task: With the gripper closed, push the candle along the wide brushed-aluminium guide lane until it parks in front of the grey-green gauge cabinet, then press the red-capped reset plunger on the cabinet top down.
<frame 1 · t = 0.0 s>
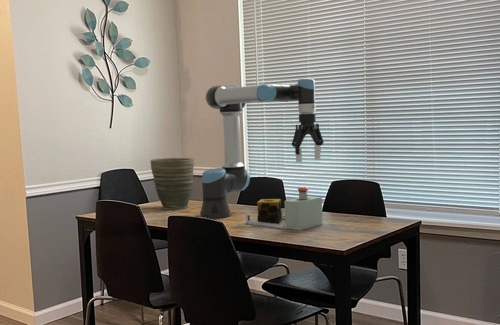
hand: (308, 160, 255), 28 cm above the table, fingers open, 13 cm apart
vase: (174, 208, 314), on the table
gauge cabinet: (304, 226, 248), on the table
rail track: (278, 222, 258), on the table
reset plunger: (303, 196, 247), point 13 cm above the table, slide at 0.0 cm
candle: (270, 222, 262), on the table
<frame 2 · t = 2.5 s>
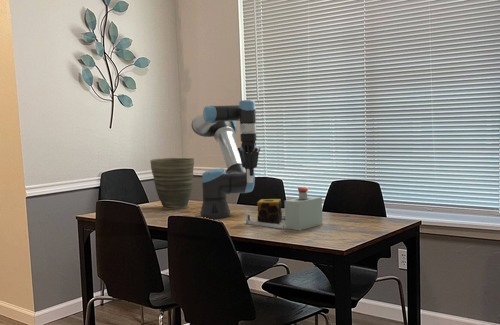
hand: (250, 182, 269), 18 cm above the table, fingers closed
nothing on the table moved.
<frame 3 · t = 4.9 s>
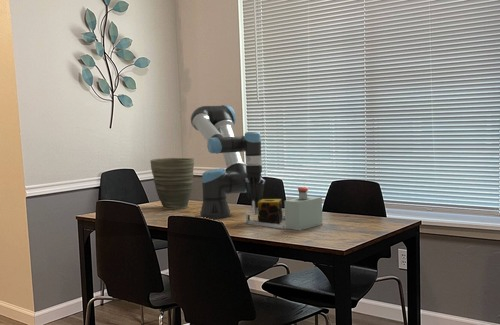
hand: (255, 214, 268), 3 cm above the table, fingers closed
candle: (270, 222, 262), on the table, touching gripper
everything else where it was.
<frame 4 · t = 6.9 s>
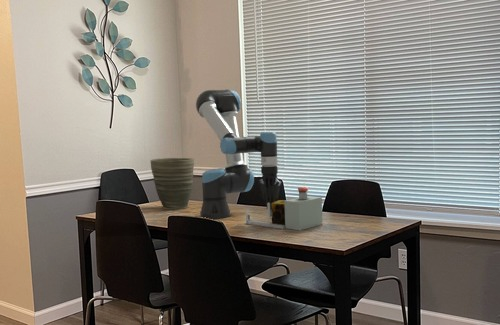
hand: (270, 216, 261), 2 cm above the table, fingers closed
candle: (285, 224, 255), on the table, touching gauge cabinet, gripper, hand
everything else where it was.
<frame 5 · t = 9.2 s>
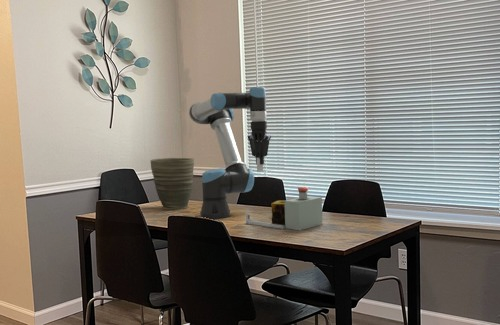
hand: (260, 171, 264), 23 cm above the table, fingers closed
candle: (285, 224, 256), on the table
everything else where it was.
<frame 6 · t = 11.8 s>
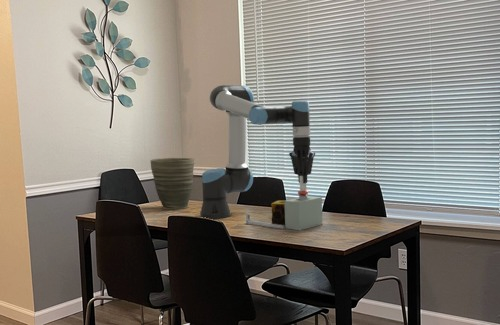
hand: (303, 190, 247), 16 cm above the table, fingers closed
reset plunger: (303, 200, 247), point 12 cm above the table, slide at 1.5 cm, touching gripper
everything else where it was.
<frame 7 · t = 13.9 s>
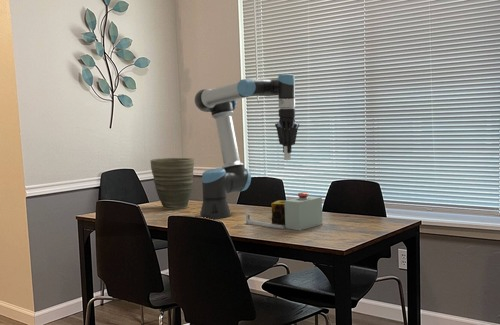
hand: (287, 160, 260), 28 cm above the table, fingers closed
reset plunger: (303, 202, 247), point 11 cm above the table, slide at 2.5 cm
everything else where it was.
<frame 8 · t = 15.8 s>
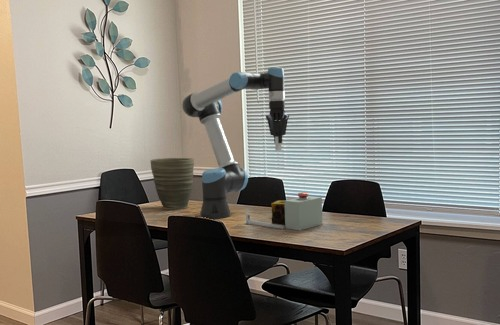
hand: (278, 150, 269), 32 cm above the table, fingers closed
nothing on the table moved.
at the end: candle inside the target area (0.3 cm from its centre), on the table; reset plunger slide at 2.5 cm; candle tilted 0° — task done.
